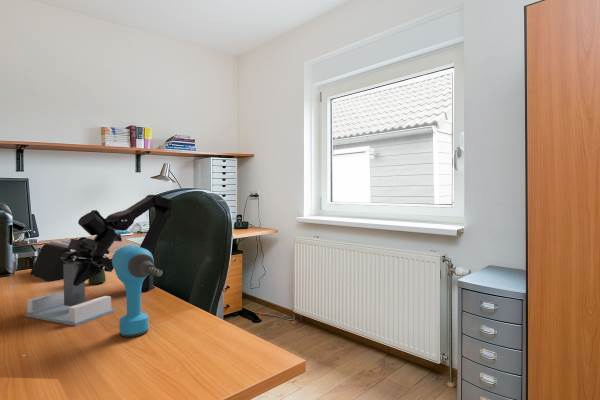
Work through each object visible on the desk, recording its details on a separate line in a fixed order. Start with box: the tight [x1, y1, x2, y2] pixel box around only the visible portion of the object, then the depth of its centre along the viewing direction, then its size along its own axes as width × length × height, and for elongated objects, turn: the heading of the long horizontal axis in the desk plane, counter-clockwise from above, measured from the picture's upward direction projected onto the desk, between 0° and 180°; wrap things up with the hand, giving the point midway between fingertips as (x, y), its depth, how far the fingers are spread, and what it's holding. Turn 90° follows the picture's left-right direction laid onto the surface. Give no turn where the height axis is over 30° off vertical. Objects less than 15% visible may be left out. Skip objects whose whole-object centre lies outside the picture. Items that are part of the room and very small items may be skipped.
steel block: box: [63, 262, 86, 306], centre depth 111 cm, size 4×4×13 cm
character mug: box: [87, 254, 107, 285], centre depth 146 cm, size 11×7×13 cm, turn 44°
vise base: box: [25, 295, 116, 327], centre depth 110 cm, size 22×13×5 cm, turn 69°
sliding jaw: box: [26, 289, 64, 314], centre depth 113 cm, size 2×12×4 cm, turn 159°
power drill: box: [111, 245, 163, 338], centre depth 91 cm, size 28×9×23 cm, turn 43°
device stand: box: [29, 239, 81, 283], centre depth 164 cm, size 22×22×15 cm
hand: (70, 284), depth 109 cm, fingers closed on steel block, 4 cm apart
